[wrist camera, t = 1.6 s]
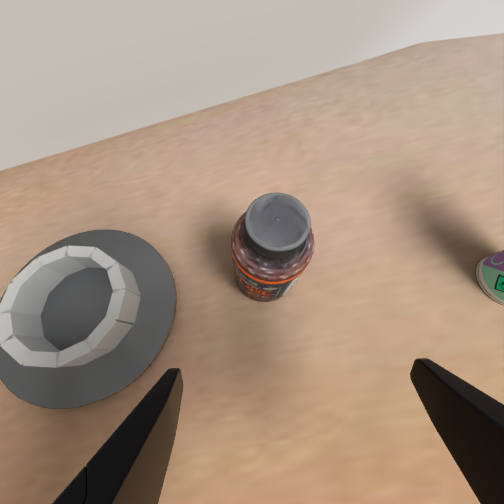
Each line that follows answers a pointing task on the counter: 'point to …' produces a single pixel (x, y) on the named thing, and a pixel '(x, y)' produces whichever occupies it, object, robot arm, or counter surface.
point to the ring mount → (85, 319)
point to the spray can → (492, 276)
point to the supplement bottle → (271, 246)
